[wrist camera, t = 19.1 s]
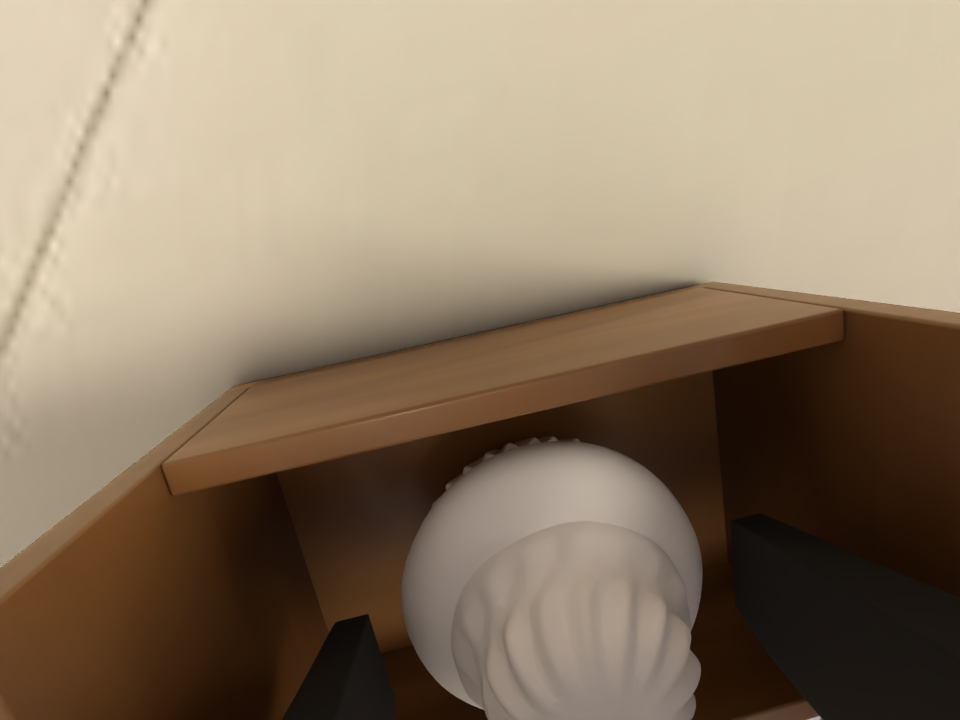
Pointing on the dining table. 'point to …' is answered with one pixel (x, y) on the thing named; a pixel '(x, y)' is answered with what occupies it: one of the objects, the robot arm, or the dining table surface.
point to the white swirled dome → (557, 587)
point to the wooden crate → (442, 457)
